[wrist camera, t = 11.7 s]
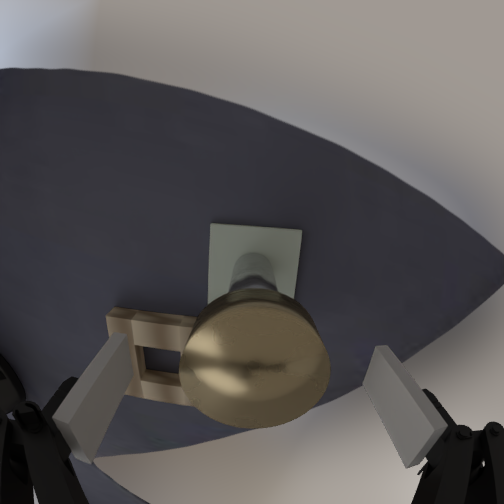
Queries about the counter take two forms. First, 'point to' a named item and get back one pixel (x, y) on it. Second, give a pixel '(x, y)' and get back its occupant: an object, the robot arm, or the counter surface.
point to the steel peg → (254, 353)
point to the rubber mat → (246, 241)
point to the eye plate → (156, 336)
